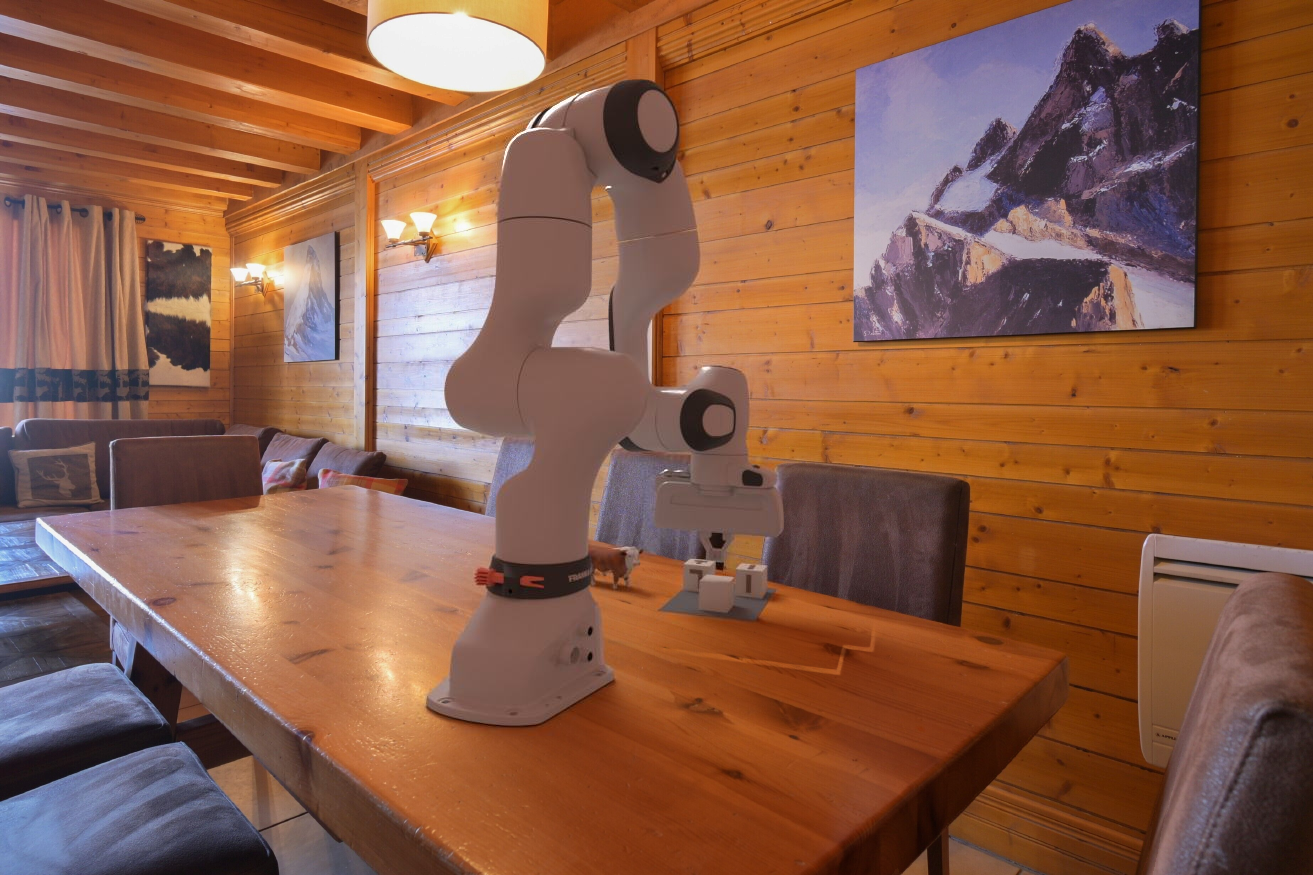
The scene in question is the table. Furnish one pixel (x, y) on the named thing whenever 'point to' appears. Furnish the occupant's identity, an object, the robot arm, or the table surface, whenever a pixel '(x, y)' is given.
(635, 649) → the table surface
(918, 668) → the table surface
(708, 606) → the plain block
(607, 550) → the bull figurine
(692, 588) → the digit block 7
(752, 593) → the digit block 1
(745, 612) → the mat
